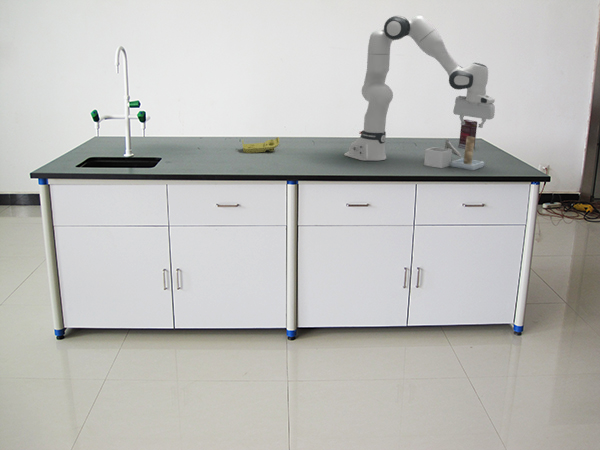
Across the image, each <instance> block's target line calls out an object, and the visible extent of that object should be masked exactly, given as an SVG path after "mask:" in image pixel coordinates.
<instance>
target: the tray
mask: <svg viewBox="0 0 600 450" xmlns="http://www.w3.org/2000/svg"><path fill="white" fill-rule="evenodd" d="M463 162H464V157H461V158H459V159H455V160H451V164H450V167H454V168H459V169H462V170H468V171H475V170H479V169H482V168H483V167H485V161H482V160H481V161H480V160H475V159H472V164H471V165H470V164H464V163H463Z"/></svg>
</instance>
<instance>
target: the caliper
mask: <svg viewBox="0 0 600 450" xmlns="http://www.w3.org/2000/svg"><path fill="white" fill-rule="evenodd" d="M444 148H445V149H451V150H452V152H453V153H454V154H456V156H459V157H462V155H461V153H460V151H458V149H456V148H455V147H454V146H453V144H452V143H451V141H450V140H449V138H446V139H445V142H444Z"/></svg>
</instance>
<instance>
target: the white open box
mask: <svg viewBox="0 0 600 450" xmlns="http://www.w3.org/2000/svg"><path fill="white" fill-rule="evenodd" d="M452 153H453V150H452V149H449V148H448V149H445V147H439V146H433V147H429V148H426V149H425V152H424V162H423V166H427V167H433V168H436V169H437V168H438V169H444V168H447V167H449V166H450V167H451V162H452Z"/></svg>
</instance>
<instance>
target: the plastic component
mask: <svg viewBox="0 0 600 450" xmlns="http://www.w3.org/2000/svg"><path fill="white" fill-rule="evenodd" d="M241 142H242V151H243V152H244V153H245V154H253V153H255V154H256V153H266V151H267V150H268V152H274V151H275V149H276V148H277V147H278V146H279V145H280V137H278V136H277V137H276V138H275V139H268V140H265V142H258V143H255V142H254V143H245V142H244V139H241Z"/></svg>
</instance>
